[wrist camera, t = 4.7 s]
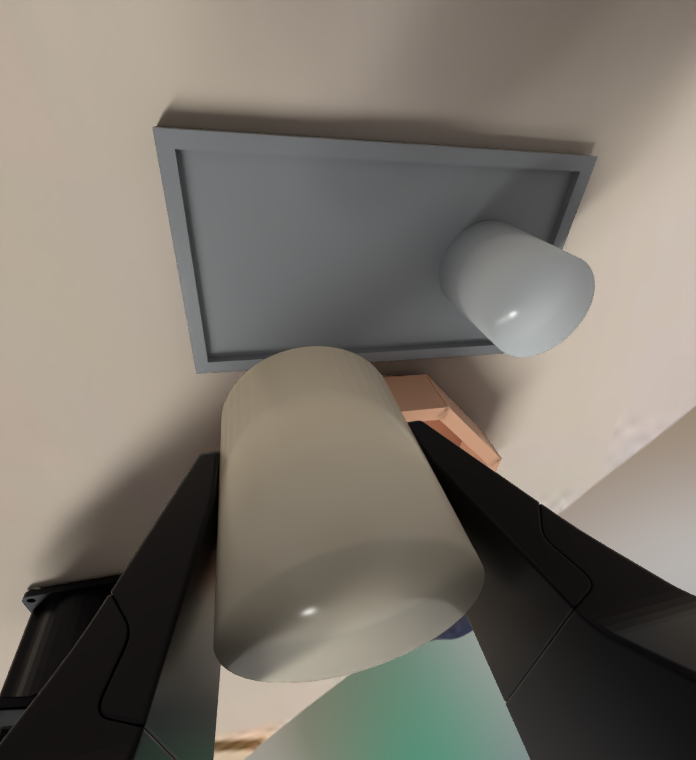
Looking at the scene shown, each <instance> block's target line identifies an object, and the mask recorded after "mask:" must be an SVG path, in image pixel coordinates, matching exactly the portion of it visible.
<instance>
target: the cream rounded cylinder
mask: <svg viewBox="0 0 696 760" xmlns="http://www.w3.org/2000/svg"><path fill="white" fill-rule="evenodd" d="M484 577H485V572H484V568H483V565H482V563H481V561H480V559H479V557H478V555H477V553H476V551H475V550H474V548H473V546H472V544H471V542H470V540H469V538H468V536H467V534H466V533H465V531H464V529H463V527H462V525H461V523H460V521H459V519H458V517H457V516H456V514H455V512H454V510H453V508H452V506H451V504H450V502H449V500H448V499H447V497H446V495H445V493H444V491H443V489H442V487H441V485H440V483H439V482H438V480H437V478H436V476H435V474H434V472H433V470H432V468H431V466H430V465H429V463H428V461H427V459H426V457H425V455H424V453H423V451H422V449H421V448H420V446H419V444H418V442H417V440H416V438H415V436H414V434H413V433H412V431H411V429H410V427H409V425H408V423H407V421H406V419H405V417H404V416H403V414H402V412H401V410H400V408H399V406H398V404H397V402H396V400H395V399H394V397H393V395H392V393H391V391H390V389H389V387H388V385H387V383H386V382H385V380H384V378H383V376H382V375H381V373H380V372H379V371H378V370H377V368H375V367H374V366H373V365H372V364H371V363H370V362H369V361H367V360H366V359H364V358H363V357H361V356H359V355H357V354H355V353H353V352H350V351H346V350H343V349H339V348H334V347H325V346H309V347H301V348H295V349H290V350H287V351H283V352H280V353H278V354H275V355H273V356H270V357H268V358H266V359H265V360H263V361H261V362H259V363H258V364H256V365H255V366H253V367H252V368H251V369H249V370H248V371H247V372H246V373H245V374H244V375H243V376H242V377H240V378H239V380H238V381H237V382H236V383H235V385H234V386H233V387H232V389H231V391H230V392H229V394H228V396H227V398H226V400H225V403H224V406H223V410H222V418H221V446H220V474H219V503H218V531H217V559H216V587H215V615H214V644H213V649H214V652H215V656H216V658H217V659H218V661H219V662H220V664H221V665H222V666H223V667H225V668H226V669H227V670H228V671H230V672H232V673H234V674H236V675H238V676H241V677H244V678H247V679H251V680H255V681H261V682H269V683H300V682H311V681H318V680H325V679H330V678H335V677H340V676H344V675H348V674H352V673H356V672H359V671H362V670H365V669H369V668H372V667H374V666H377V665H380V664H383V663H385V662H388V661H390V660H393V659H395V658H398V657H400V656H402V655H404V654H406V653H409V652H410V651H413V650H414V649H416V648H418V647H420V646H422V645H424V644H425V643H427V642H429V641H430V640H432V639H434V638H435V637H437V636H438V635H440V634H441V633H443V632H444V631H446V630H447V629H448V628H449V627H451V626H452V625H453V624H454V623H456V622H457V621H458V620H459V619H460V618H461V617H462V616H463V615H464V614H465V613H466V612H467V611H468V610H469V609H470V608H471V606H472V605H473V604H474V602H475V601H476V599H477V598H478V596H479V594H480V592H481V590H482V587H483V584H484Z"/></svg>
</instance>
